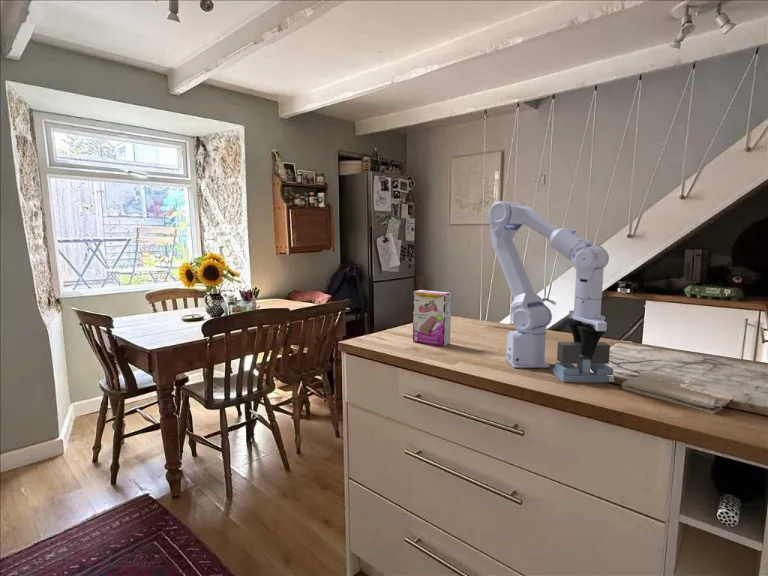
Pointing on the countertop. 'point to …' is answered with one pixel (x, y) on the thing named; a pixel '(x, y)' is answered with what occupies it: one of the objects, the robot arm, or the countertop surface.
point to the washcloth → (672, 391)
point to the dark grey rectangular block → (573, 350)
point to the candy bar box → (431, 317)
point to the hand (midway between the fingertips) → (584, 353)
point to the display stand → (582, 371)
